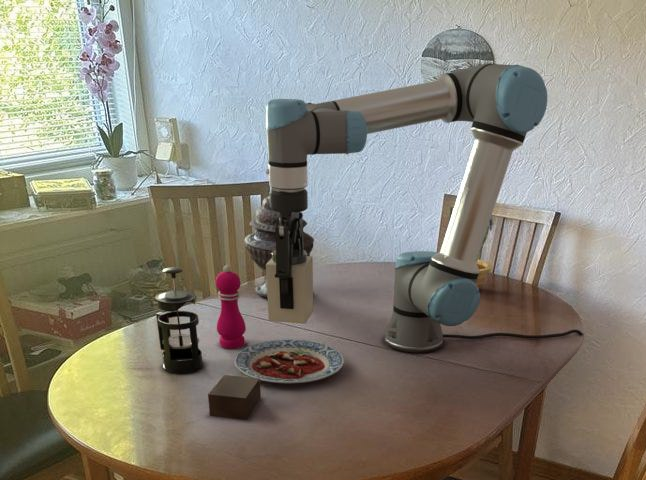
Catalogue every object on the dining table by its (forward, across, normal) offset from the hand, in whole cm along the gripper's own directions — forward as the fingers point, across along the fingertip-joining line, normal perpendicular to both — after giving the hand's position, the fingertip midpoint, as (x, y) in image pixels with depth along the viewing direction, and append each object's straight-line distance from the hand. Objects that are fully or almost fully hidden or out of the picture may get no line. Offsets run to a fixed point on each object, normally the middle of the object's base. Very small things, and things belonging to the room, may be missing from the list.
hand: (291, 301), depth 150 cm
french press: (+19, -3, -28) cm, 34 cm away
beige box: (+2, 0, -5) cm, 6 cm away
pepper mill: (+19, -19, -21) cm, 34 cm away
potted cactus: (+20, -81, +37) cm, 91 cm away
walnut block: (+19, +15, -9) cm, 26 cm away
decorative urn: (+19, -62, -19) cm, 68 cm away
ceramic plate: (+19, -8, -3) cm, 21 cm away
